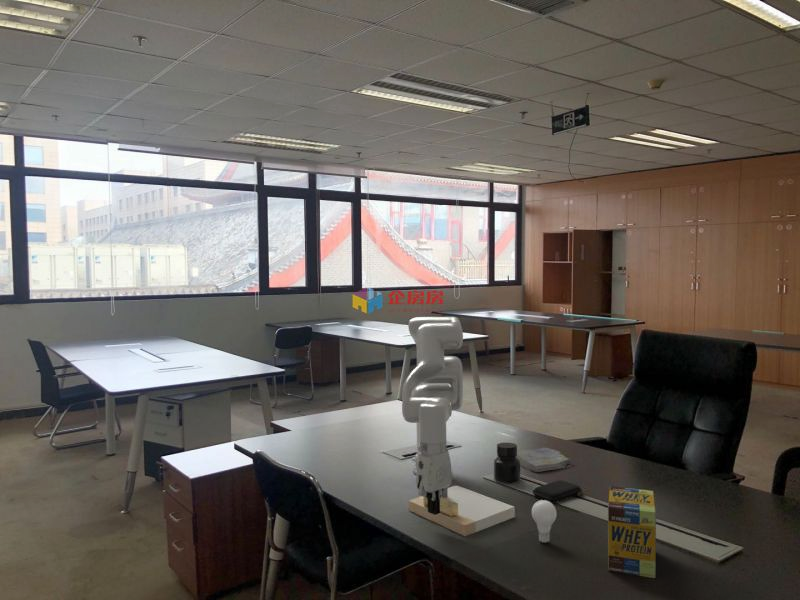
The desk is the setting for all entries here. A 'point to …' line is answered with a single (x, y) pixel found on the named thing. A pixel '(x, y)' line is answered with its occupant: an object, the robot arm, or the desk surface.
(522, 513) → the desk surface
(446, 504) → the gold bar
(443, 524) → the white cabinet door
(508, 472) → the ink bottle
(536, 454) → the grey flat stone slab
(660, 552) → the desk surface
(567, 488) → the carrying case or bag
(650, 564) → the protein box
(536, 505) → the lightbulb
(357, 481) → the desk surface
